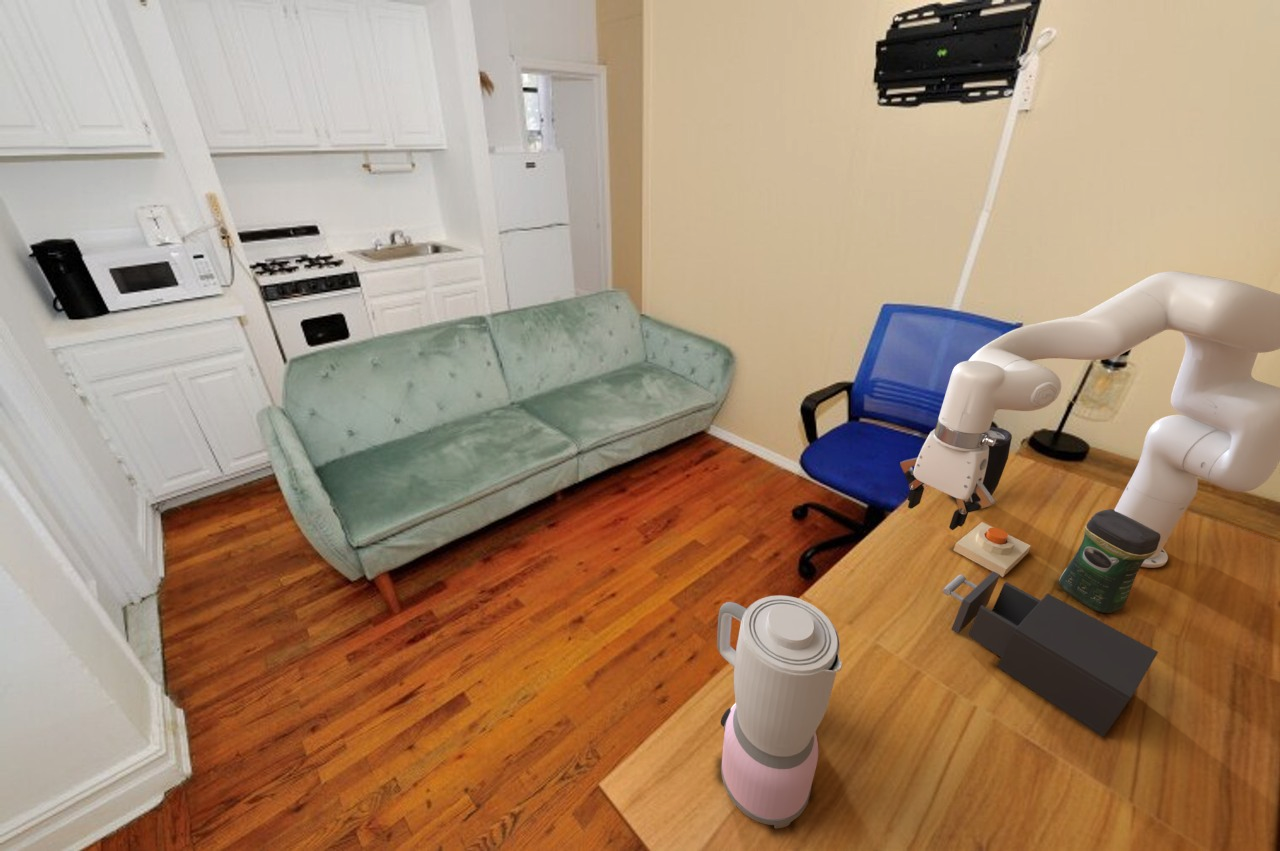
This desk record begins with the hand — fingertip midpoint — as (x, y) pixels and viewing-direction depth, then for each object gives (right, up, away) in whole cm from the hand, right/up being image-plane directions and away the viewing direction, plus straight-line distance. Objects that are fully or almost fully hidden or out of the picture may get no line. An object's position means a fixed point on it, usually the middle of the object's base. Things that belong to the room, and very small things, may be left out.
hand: (933, 515), depth 94 cm
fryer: (+15, -25, -10) cm, 31 cm away
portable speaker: (+28, -2, +33) cm, 44 cm away
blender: (-39, -33, -22) cm, 55 cm away
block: (+22, -11, +16) cm, 29 cm away
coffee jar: (+33, -17, +5) cm, 38 cm away
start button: (+22, -8, +15) cm, 27 cm away
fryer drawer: (+9, -21, -3) cm, 23 cm away
